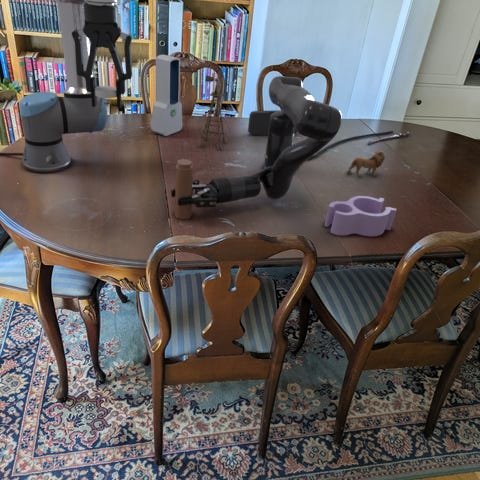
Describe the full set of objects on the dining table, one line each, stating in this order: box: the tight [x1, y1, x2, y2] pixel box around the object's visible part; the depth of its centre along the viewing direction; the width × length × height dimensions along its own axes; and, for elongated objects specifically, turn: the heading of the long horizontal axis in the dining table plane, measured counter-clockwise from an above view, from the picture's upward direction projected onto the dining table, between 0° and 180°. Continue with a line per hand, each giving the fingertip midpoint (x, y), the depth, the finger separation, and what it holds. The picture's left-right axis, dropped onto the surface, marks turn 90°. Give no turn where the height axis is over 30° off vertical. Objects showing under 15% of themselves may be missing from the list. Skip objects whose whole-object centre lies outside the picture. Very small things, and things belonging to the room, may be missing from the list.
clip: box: [324, 195, 398, 237], centre depth 141 cm, size 20×12×7 cm, turn 109°
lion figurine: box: [346, 150, 386, 178], centre depth 174 cm, size 15×5×9 cm, turn 110°
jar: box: [174, 158, 194, 220], centre depth 134 cm, size 5×5×17 cm
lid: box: [94, 85, 117, 99], centre depth 115 cm, size 6×6×2 cm
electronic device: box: [149, 54, 183, 137], centre depth 188 cm, size 12×8×30 cm, turn 148°
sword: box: [367, 133, 409, 145], centre depth 213 cm, size 31×3×1 cm, turn 126°
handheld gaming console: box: [247, 110, 298, 136], centre depth 202 cm, size 23×3×10 cm, turn 108°
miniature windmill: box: [199, 67, 226, 150], centre depth 180 cm, size 9×8×30 cm
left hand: (107, 105), depth 117 cm, fingers closed on lid, 5 cm apart
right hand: (175, 197), depth 135 cm, fingers closed on jar, 5 cm apart
